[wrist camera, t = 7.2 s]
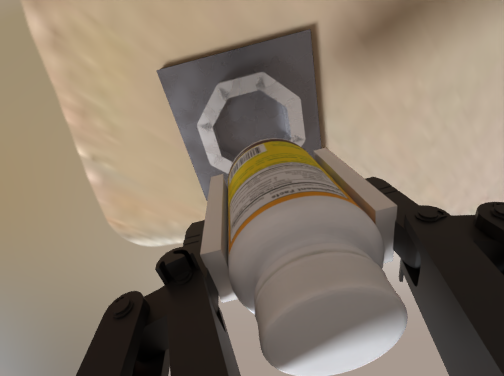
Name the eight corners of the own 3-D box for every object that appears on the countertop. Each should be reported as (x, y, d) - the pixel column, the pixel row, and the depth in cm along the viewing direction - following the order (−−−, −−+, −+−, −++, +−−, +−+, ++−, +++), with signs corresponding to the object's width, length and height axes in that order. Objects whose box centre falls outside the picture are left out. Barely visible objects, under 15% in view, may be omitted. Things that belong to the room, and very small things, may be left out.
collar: (306, 30, 24) (319, 25, 21) (320, 167, 32) (331, 179, 29) (159, 70, 25) (149, 70, 21) (207, 196, 32) (205, 211, 29)
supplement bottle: (301, 215, 17) (387, 389, 8) (223, 210, 16) (219, 397, 7) (323, 140, 14) (487, 266, 5) (232, 128, 13) (243, 256, 4)
